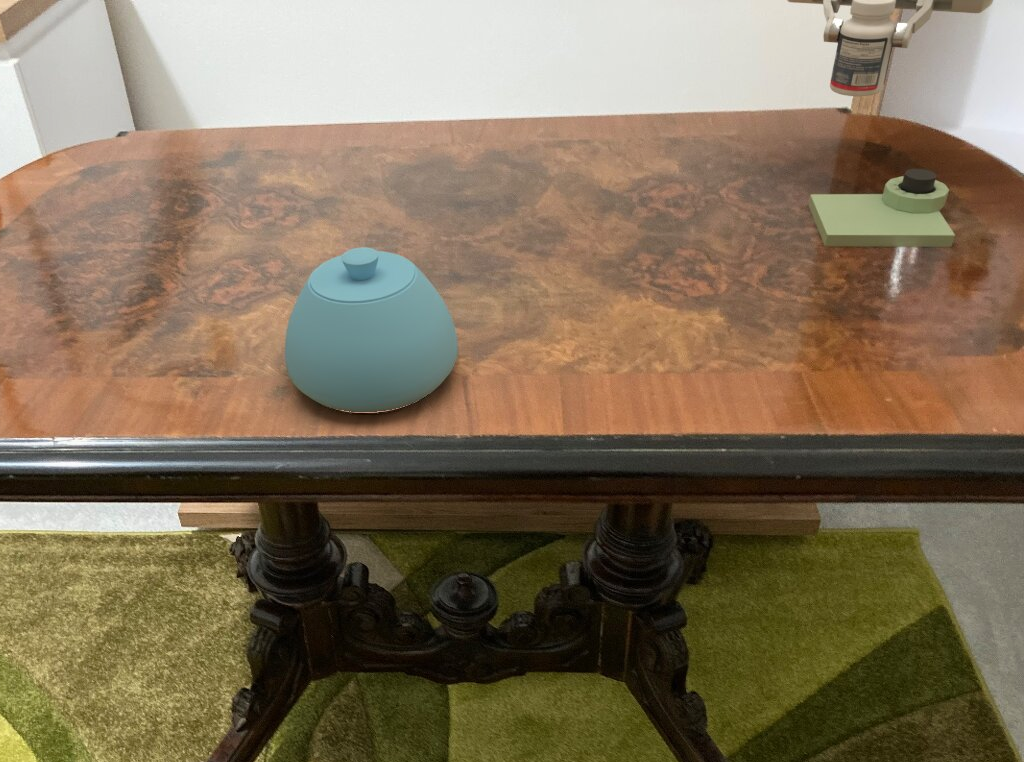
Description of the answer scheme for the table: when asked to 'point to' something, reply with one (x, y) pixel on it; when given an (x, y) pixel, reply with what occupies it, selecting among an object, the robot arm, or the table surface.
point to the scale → (883, 218)
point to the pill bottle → (864, 49)
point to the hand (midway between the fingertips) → (865, 42)
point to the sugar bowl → (369, 333)
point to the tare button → (918, 181)
